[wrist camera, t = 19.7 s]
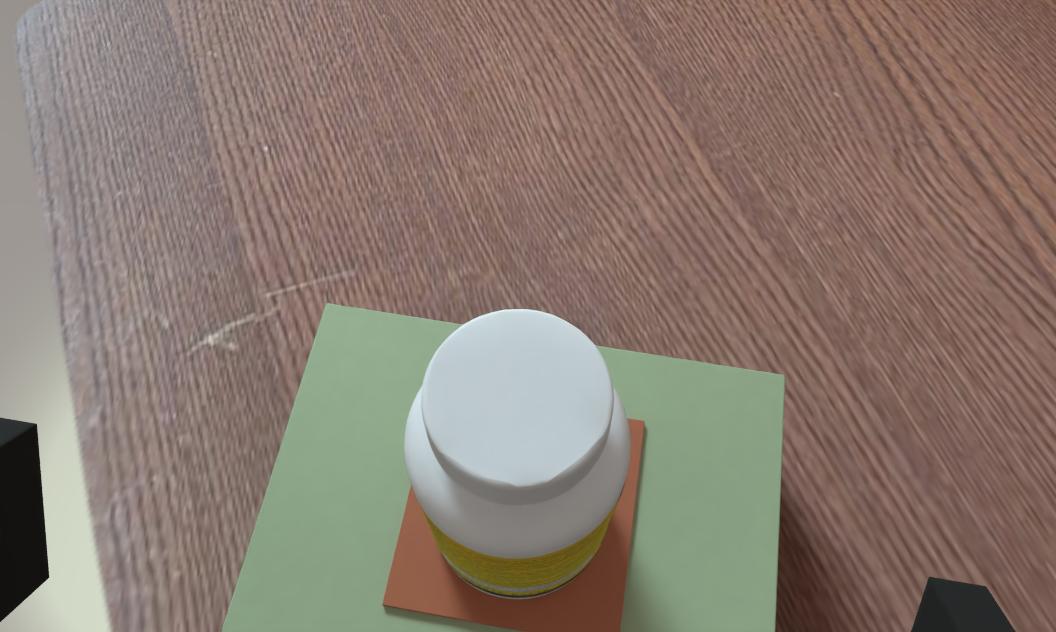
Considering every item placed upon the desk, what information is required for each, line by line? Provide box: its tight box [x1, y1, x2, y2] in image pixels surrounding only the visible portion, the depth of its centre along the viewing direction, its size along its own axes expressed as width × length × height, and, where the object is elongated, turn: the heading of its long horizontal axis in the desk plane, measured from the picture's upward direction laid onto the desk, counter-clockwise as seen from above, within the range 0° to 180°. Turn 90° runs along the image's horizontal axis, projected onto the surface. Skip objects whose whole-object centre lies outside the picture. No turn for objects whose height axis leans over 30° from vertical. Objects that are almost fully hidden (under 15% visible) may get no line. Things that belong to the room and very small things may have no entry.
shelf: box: [222, 303, 785, 632], centre depth 28 cm, size 16×12×5 cm
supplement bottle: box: [404, 309, 631, 599], centre depth 21 cm, size 5×5×10 cm
